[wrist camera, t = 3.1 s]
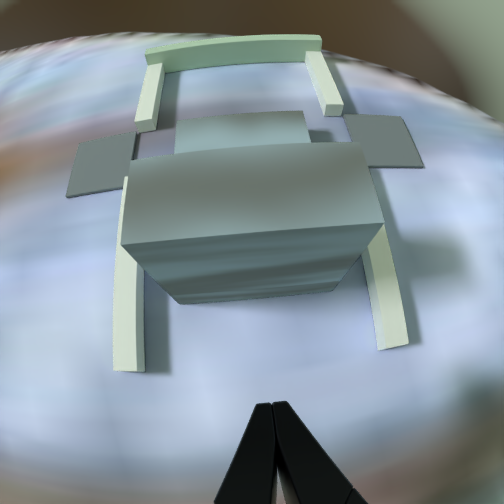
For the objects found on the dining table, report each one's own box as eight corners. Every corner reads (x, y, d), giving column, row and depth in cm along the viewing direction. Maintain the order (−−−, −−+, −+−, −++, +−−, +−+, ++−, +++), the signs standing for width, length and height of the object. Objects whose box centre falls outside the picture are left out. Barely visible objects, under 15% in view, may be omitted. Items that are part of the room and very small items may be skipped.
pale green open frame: (399, 346, 19) (419, 340, 16) (122, 371, 19) (102, 369, 16) (316, 56, 30) (319, 35, 27) (152, 69, 30) (146, 49, 27)
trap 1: (422, 167, 24) (423, 166, 24) (360, 167, 24) (361, 165, 24) (399, 118, 26) (400, 116, 26) (342, 116, 26) (343, 113, 26)
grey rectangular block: (331, 291, 21) (385, 222, 11) (179, 304, 21) (120, 245, 11) (299, 131, 26) (312, 32, 17) (182, 140, 26) (156, 44, 17)
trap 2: (128, 187, 24) (127, 185, 24) (67, 198, 24) (65, 196, 24) (137, 133, 26) (136, 131, 26) (80, 145, 26) (79, 143, 26)
